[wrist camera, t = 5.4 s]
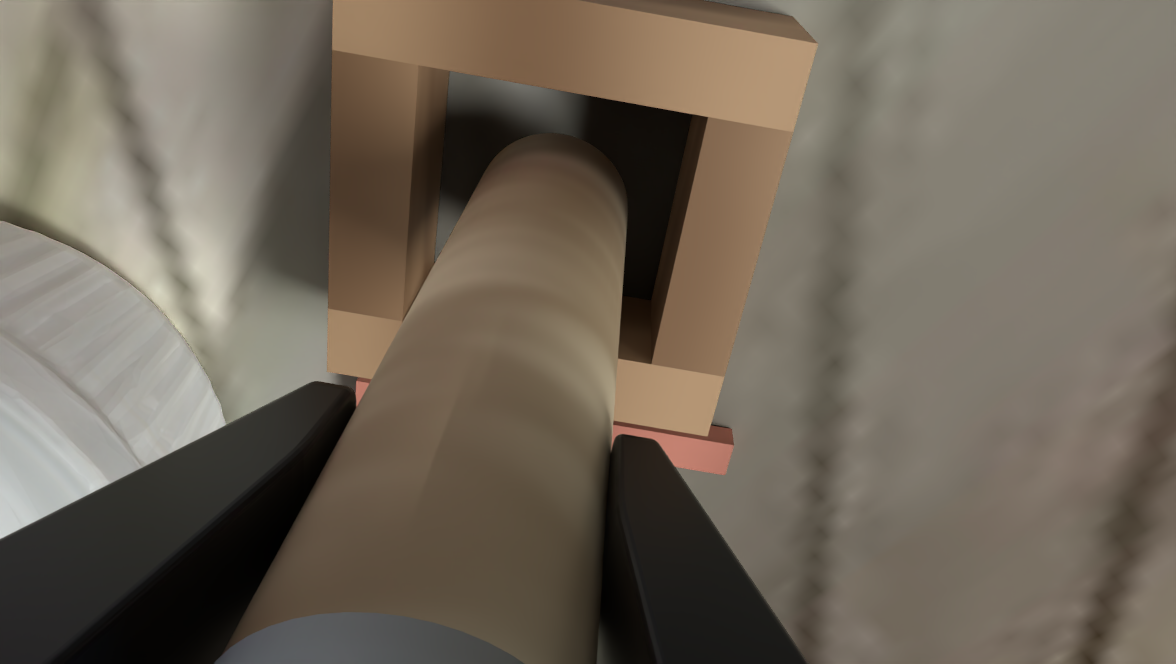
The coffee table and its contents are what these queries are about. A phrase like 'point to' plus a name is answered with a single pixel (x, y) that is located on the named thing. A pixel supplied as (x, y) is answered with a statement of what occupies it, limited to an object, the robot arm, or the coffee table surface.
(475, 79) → the coffee table surface
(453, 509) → the dowel
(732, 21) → the wooden square frame
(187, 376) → the ramekin
